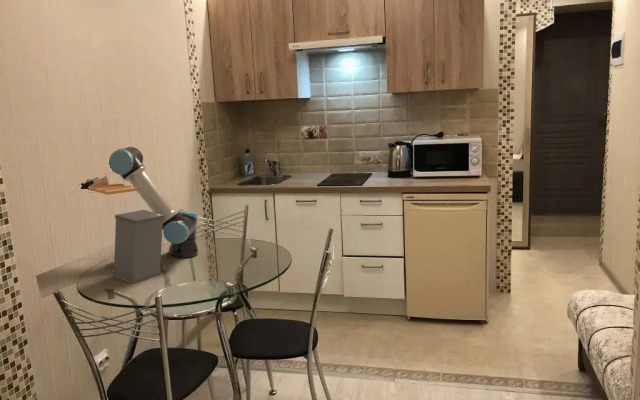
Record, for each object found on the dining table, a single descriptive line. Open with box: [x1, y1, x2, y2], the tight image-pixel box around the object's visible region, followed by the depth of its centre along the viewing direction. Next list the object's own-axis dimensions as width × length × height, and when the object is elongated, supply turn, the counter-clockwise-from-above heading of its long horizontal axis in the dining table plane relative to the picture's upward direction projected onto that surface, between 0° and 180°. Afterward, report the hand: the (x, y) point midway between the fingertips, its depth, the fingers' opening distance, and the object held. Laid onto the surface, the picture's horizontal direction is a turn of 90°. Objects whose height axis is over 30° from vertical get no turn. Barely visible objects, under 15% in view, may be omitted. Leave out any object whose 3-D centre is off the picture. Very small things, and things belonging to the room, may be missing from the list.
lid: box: [85, 179, 137, 196], centre depth 235 cm, size 22×17×2 cm
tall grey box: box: [113, 209, 164, 284], centre depth 230 cm, size 13×17×28 cm
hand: (102, 179), depth 236 cm, fingers closed on lid, 4 cm apart
